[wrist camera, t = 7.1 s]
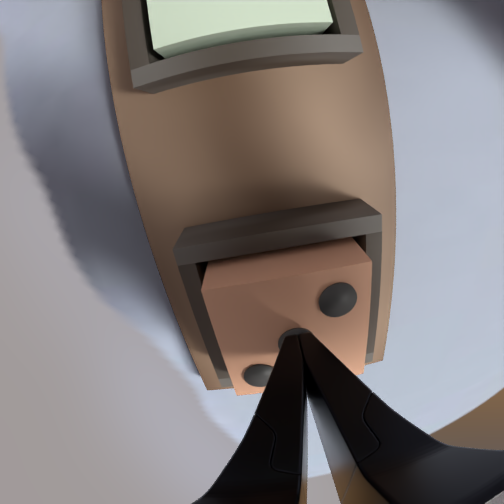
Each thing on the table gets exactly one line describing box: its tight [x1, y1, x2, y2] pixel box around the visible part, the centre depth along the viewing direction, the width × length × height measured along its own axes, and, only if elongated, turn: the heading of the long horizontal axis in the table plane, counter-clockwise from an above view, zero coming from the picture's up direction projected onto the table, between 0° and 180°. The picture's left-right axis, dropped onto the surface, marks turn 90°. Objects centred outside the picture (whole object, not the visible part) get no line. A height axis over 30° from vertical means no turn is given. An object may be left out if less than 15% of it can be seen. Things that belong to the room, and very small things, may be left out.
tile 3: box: [201, 237, 372, 395], centre depth 10 cm, size 5×5×2 cm
